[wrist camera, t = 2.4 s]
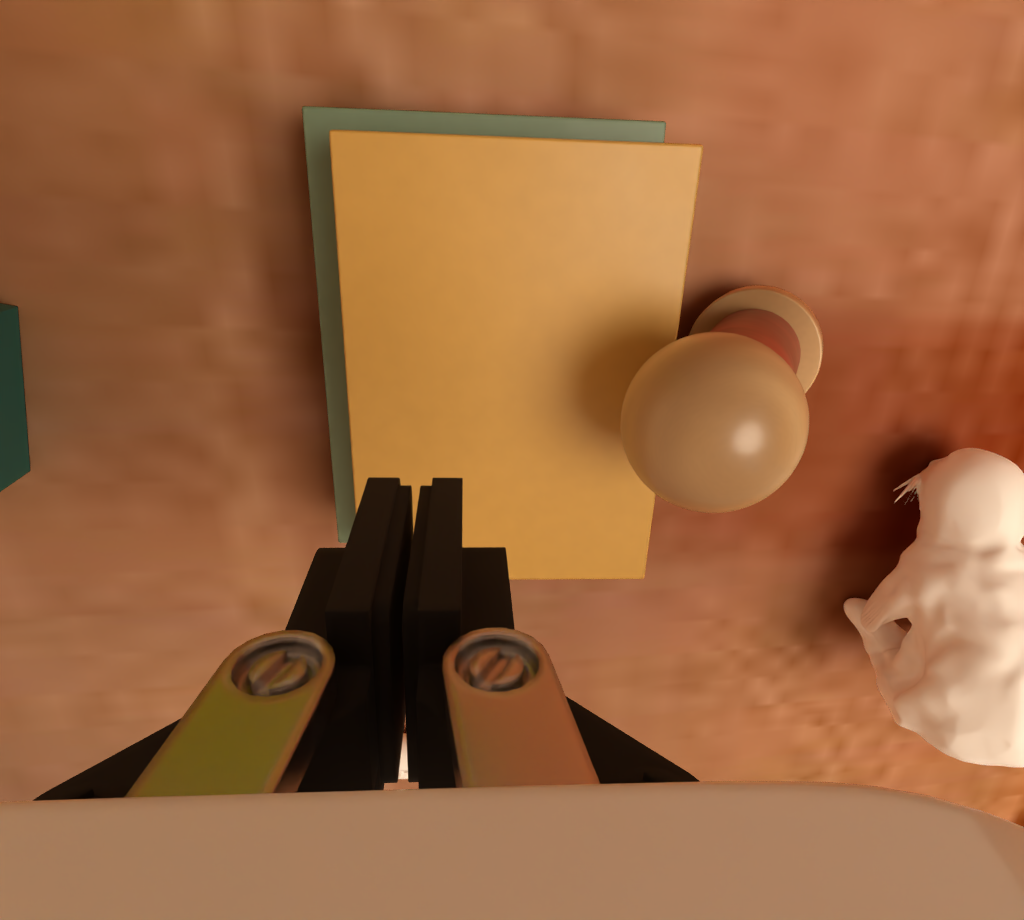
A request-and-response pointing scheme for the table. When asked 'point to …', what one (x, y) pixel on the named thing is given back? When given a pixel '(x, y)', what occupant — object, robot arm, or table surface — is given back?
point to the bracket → (12, 401)
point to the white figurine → (956, 612)
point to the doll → (725, 402)
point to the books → (498, 317)
